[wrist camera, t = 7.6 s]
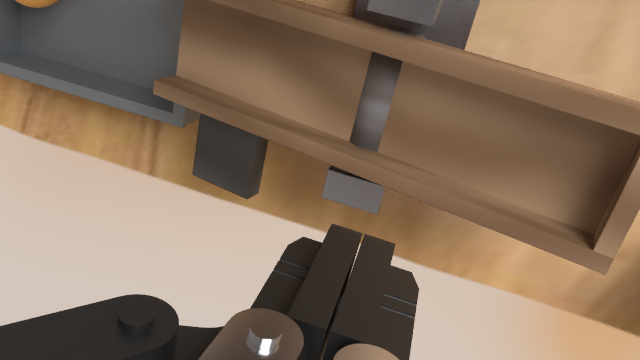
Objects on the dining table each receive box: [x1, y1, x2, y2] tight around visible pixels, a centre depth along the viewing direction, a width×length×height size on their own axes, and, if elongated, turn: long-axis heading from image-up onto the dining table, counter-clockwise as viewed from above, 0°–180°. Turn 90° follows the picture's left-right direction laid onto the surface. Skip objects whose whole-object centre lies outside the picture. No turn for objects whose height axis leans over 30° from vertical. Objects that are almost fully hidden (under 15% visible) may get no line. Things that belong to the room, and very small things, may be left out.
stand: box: [322, 0, 480, 214], centre depth 31 cm, size 13×7×10 cm, turn 168°
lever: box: [153, 0, 640, 275], centre depth 28 cm, size 11×24×5 cm, turn 78°
